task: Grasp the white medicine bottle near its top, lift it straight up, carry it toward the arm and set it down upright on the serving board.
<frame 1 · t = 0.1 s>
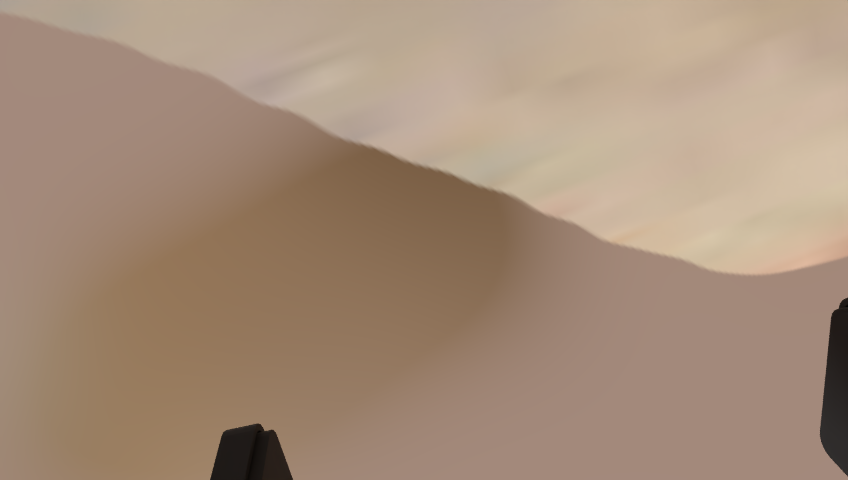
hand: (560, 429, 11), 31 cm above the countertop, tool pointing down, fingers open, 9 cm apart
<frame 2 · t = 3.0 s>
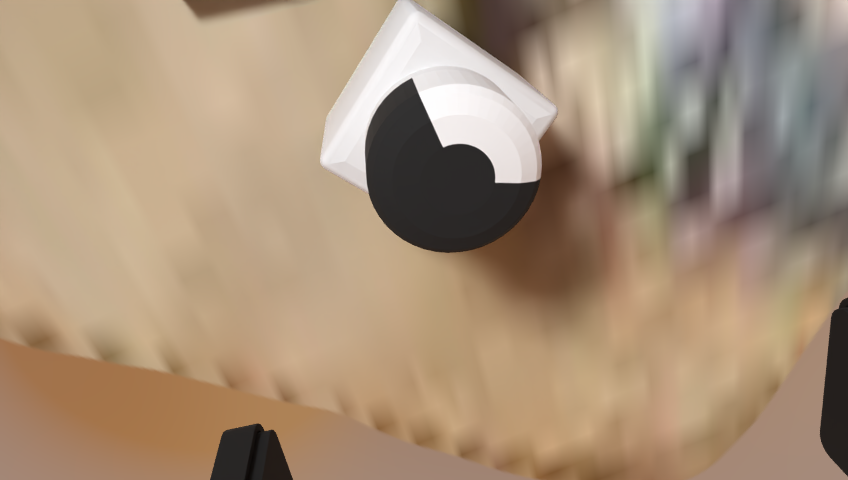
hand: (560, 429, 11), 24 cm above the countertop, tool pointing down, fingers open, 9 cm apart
medicine bottle: (422, 97, 33), on the countertop
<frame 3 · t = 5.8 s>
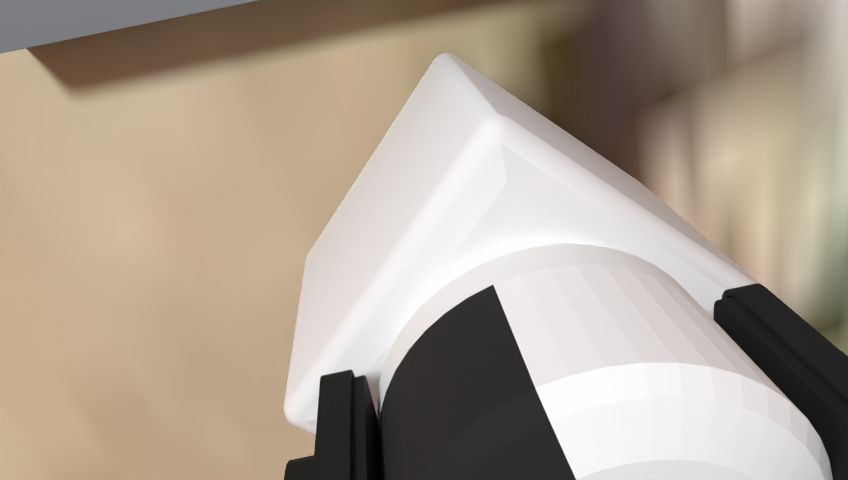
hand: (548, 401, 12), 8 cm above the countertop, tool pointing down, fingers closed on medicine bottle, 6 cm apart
medicine bottle: (471, 219, 19), on the countertop, touching gripper
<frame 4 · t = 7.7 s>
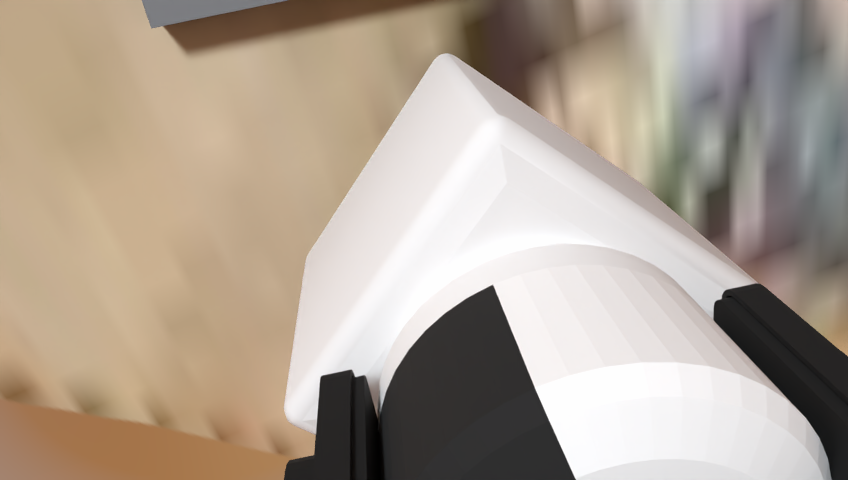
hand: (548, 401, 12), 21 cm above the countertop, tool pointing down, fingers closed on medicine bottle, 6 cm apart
medicine bottle: (471, 219, 19), point 12 cm above the countertop, touching gripper
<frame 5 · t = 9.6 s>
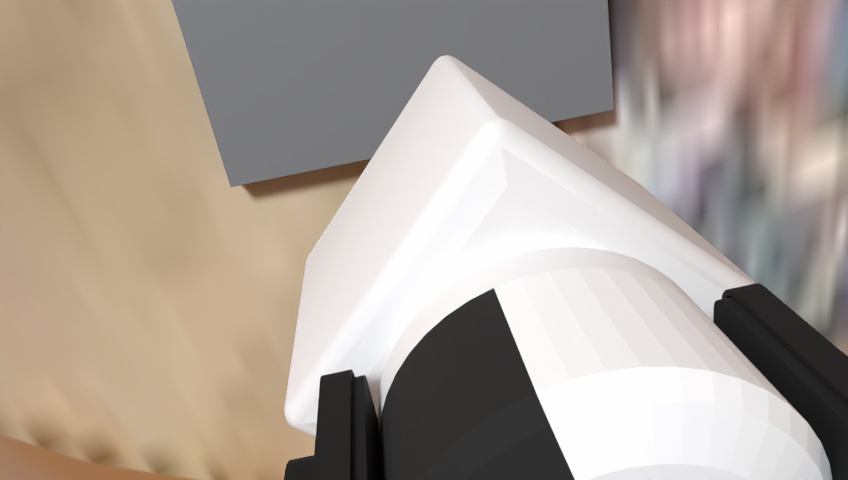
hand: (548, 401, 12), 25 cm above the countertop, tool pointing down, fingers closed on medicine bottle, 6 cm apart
medicine bottle: (471, 221, 19), point 16 cm above the countertop, touching gripper
serving board: (395, 3, 32), on the countertop
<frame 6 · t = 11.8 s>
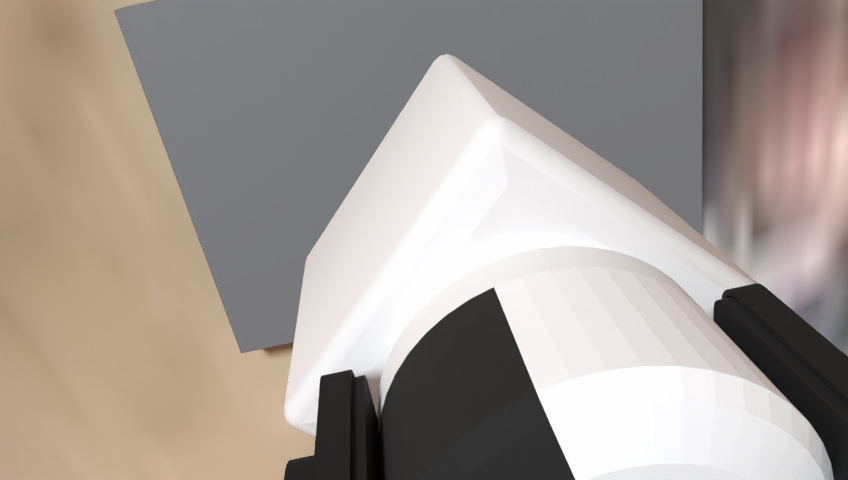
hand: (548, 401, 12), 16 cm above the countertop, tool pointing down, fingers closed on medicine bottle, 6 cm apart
medicine bottle: (471, 220, 19), point 8 cm above the countertop, touching gripper
serving board: (440, 137, 26), on the countertop
when the fingers open (11 cm above the countertop, at t = 13.6 s): medicine bottle drops 2 cm, resting on serving board.
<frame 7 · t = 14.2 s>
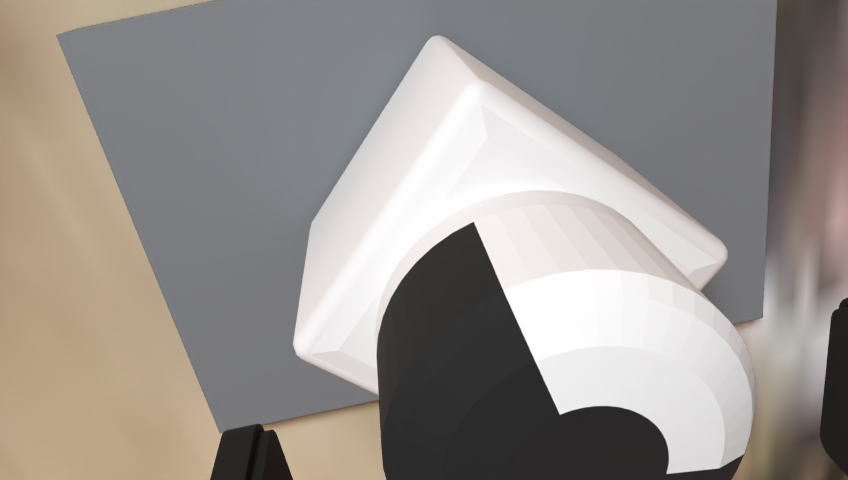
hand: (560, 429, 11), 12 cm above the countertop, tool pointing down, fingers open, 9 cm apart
medicine bottle: (462, 190, 21), point 1 cm above the countertop, touching serving board
serving board: (455, 181, 22), on the countertop
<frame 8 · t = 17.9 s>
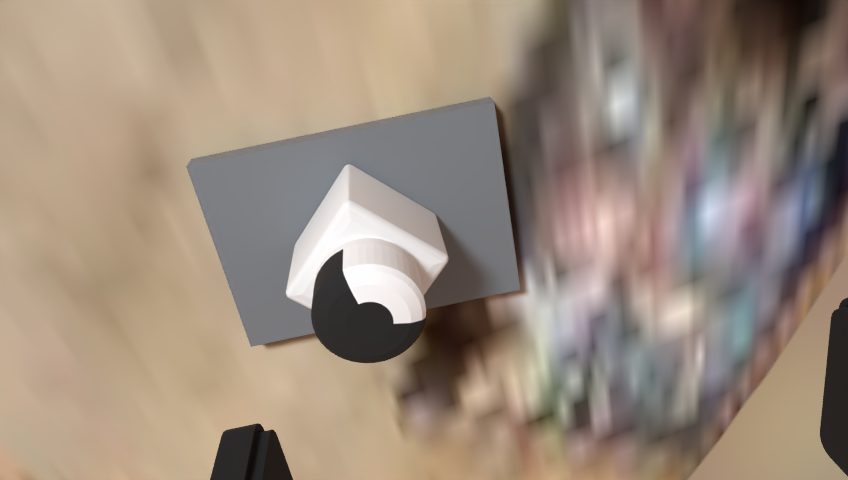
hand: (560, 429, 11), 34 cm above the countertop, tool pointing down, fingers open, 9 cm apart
medicine bottle: (365, 228, 45), point 1 cm above the countertop, touching serving board
serving board: (364, 223, 46), on the countertop
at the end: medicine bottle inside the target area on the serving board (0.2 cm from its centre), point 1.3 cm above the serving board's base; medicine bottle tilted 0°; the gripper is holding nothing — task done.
